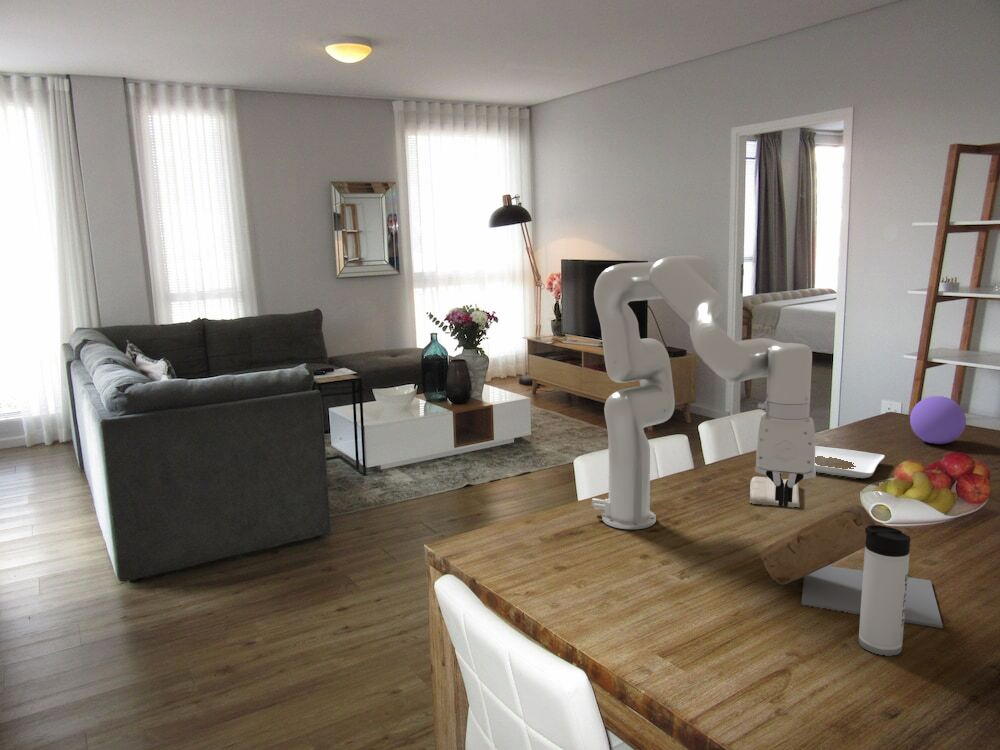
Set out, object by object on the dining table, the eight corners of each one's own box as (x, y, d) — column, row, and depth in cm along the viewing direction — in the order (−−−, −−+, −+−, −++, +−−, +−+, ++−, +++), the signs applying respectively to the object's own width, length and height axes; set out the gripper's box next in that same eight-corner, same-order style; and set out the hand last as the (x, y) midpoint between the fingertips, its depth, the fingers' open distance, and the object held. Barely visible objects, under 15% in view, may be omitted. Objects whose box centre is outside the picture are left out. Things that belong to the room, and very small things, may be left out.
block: (775, 590, 138) (876, 545, 128) (753, 553, 140) (851, 506, 130) (791, 576, 146) (886, 533, 136) (770, 542, 149) (862, 496, 139)
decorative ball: (959, 439, 236) (964, 393, 234) (967, 452, 223) (971, 403, 220) (906, 435, 243) (909, 390, 240) (910, 447, 229) (914, 399, 226)
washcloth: (797, 487, 196) (798, 476, 196) (800, 511, 180) (801, 499, 179) (750, 484, 200) (750, 473, 200) (749, 506, 184) (749, 494, 183)
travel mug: (848, 637, 122) (856, 522, 119) (886, 634, 123) (895, 520, 119) (870, 658, 116) (879, 537, 113) (910, 655, 117) (920, 535, 113)
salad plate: (807, 454, 225) (807, 443, 225) (885, 465, 213) (885, 453, 213) (788, 473, 209) (789, 461, 208) (872, 485, 196) (873, 473, 196)
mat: (801, 604, 133) (801, 602, 133) (805, 564, 150) (805, 562, 150) (942, 628, 125) (942, 625, 125) (930, 582, 141) (930, 580, 141)
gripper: (742, 411, 137) (739, 506, 140) (831, 417, 131) (826, 516, 134) (747, 403, 144) (744, 494, 147) (831, 408, 138) (826, 503, 141)
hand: (783, 504), depth 140 cm, fingers closed
